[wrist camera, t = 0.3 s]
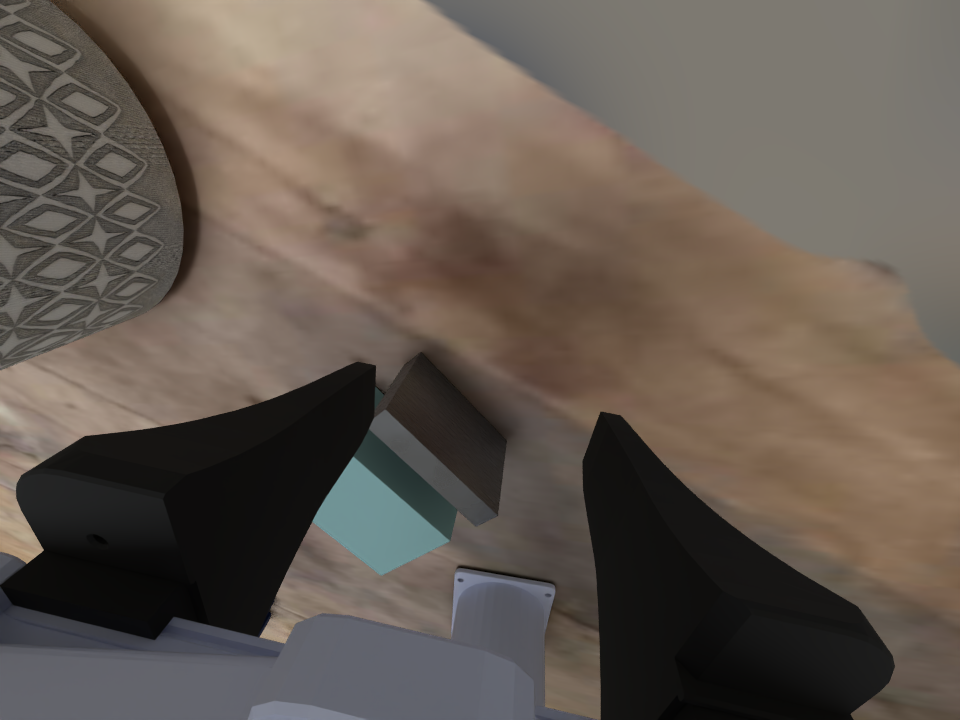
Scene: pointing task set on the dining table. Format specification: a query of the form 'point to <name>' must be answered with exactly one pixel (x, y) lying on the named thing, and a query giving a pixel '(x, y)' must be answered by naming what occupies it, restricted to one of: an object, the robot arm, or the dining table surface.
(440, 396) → the wall
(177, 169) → the dining table surface
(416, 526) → the block
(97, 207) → the planter
